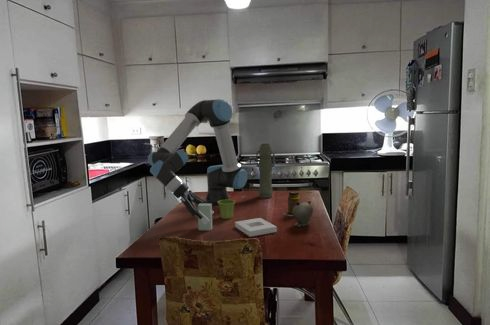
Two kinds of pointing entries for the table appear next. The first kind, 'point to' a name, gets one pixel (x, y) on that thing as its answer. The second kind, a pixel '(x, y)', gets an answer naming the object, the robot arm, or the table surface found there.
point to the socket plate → (255, 227)
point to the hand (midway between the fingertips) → (210, 218)
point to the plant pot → (226, 208)
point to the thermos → (265, 170)
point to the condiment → (292, 202)
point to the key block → (207, 212)
